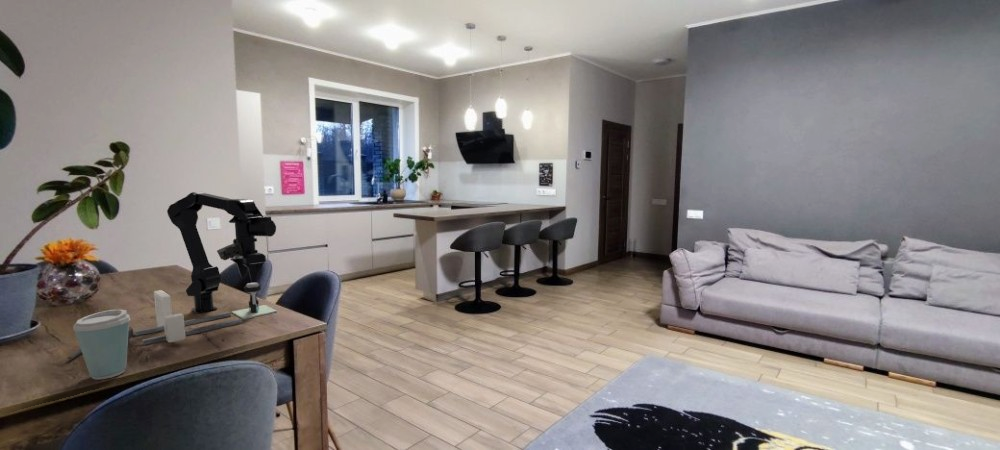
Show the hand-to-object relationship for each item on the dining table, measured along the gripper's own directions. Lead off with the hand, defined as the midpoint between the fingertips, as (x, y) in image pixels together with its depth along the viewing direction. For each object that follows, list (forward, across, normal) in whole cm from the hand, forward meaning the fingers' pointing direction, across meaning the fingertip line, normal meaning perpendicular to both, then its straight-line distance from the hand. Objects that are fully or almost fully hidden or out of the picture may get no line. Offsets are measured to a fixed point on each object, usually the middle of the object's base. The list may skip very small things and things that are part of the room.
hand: (248, 280), depth 160 cm
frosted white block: (+10, +8, -25) cm, 29 cm away
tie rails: (+12, +4, -19) cm, 22 cm away
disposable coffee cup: (+12, +27, -42) cm, 52 cm away
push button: (+12, 0, +1) cm, 12 cm away
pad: (+12, +1, +1) cm, 12 cm away
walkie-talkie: (+13, +3, -40) cm, 42 cm away
